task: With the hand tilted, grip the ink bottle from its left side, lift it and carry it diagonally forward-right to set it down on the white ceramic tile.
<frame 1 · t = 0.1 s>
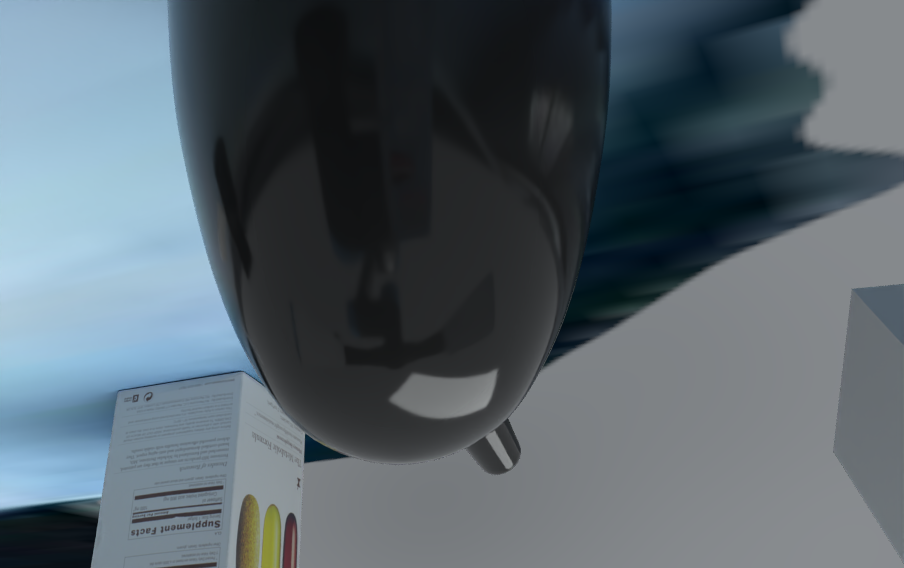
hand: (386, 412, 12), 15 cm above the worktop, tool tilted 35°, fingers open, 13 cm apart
supplement box: (216, 399, 56), on the worktop
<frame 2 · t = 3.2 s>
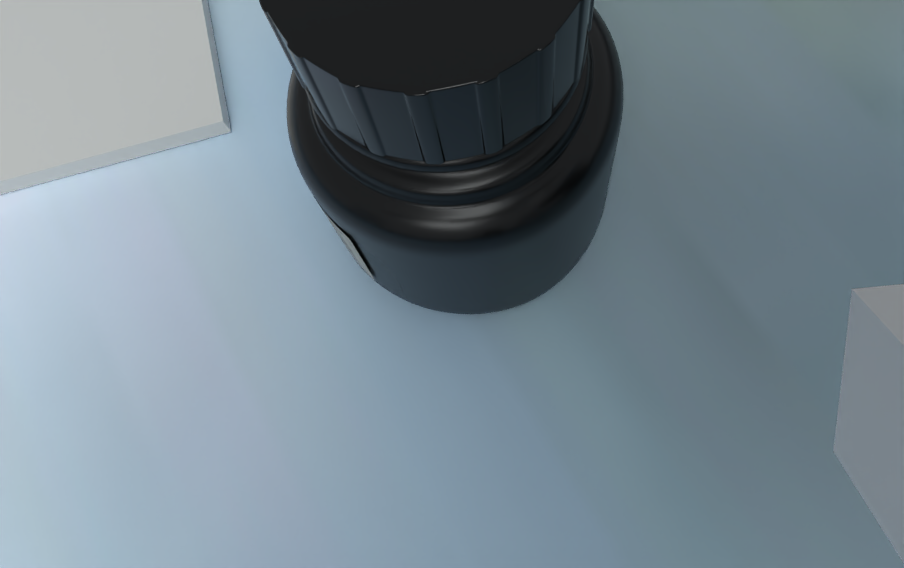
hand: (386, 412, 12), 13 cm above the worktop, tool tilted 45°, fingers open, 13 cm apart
ink bottle: (470, 192, 28), on the worktop
ceramic tile: (38, 28, 31), on the worktop
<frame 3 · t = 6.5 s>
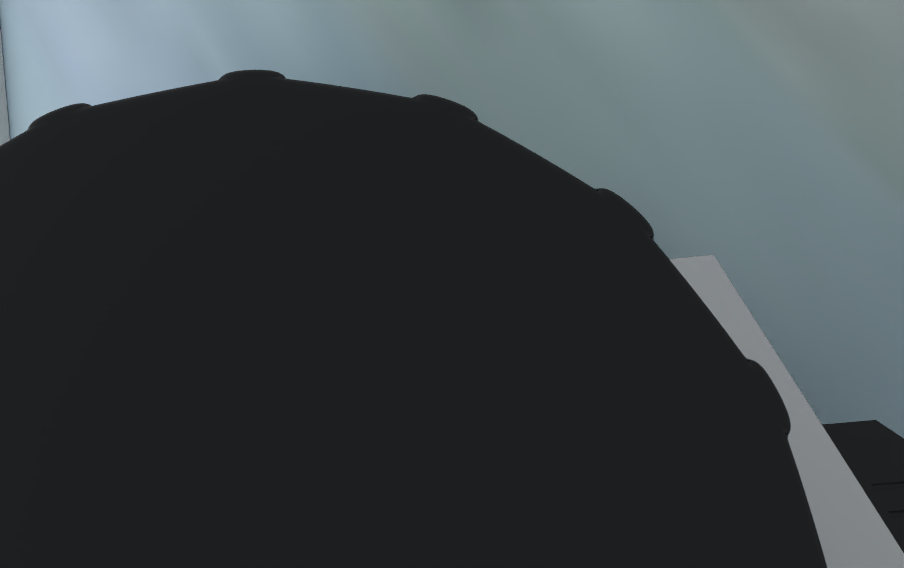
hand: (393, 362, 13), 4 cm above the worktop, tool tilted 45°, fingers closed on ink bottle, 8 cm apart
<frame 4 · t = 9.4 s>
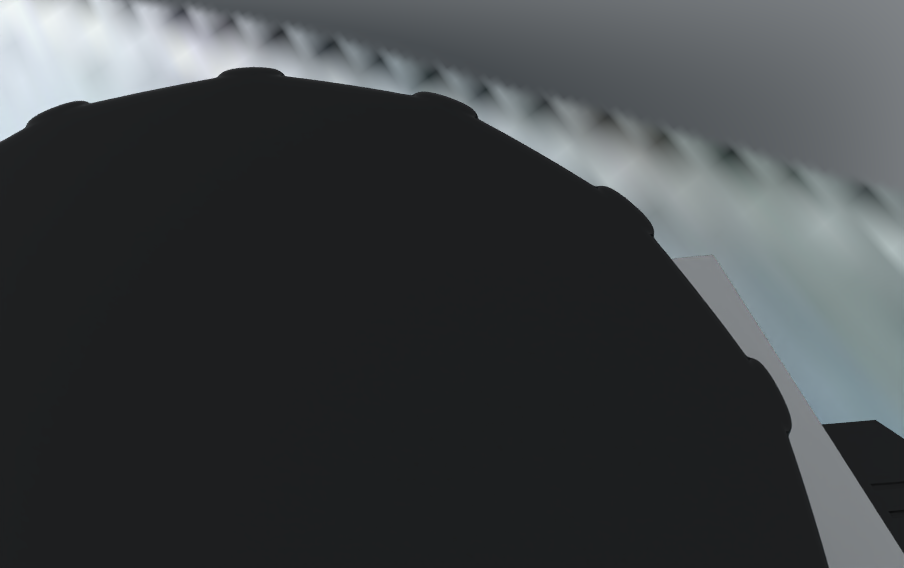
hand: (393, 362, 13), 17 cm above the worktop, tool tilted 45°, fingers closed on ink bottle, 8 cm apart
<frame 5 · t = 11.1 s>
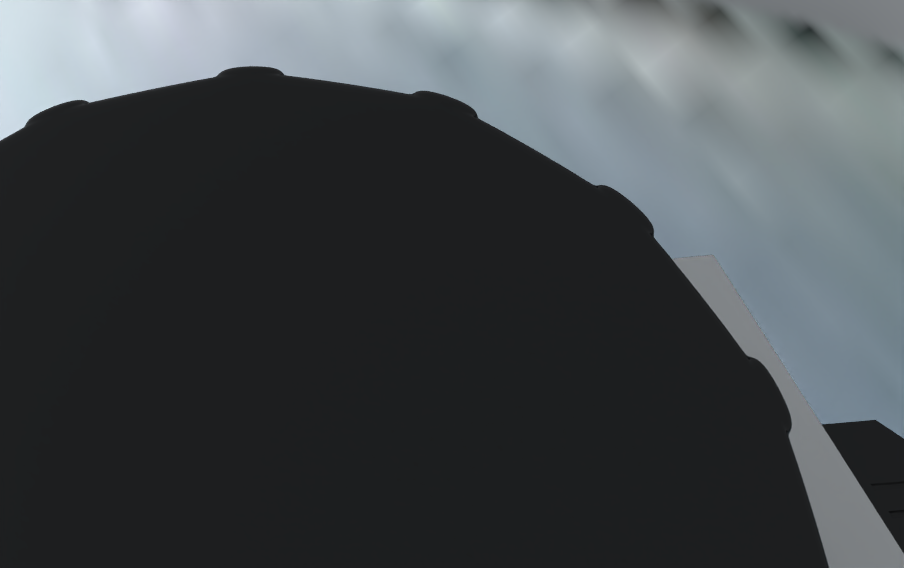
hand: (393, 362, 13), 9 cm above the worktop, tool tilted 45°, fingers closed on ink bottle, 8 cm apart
when the fingers open (6 cm above the worktop, at t = 12.3 s): ink bottle drops 1 cm, resting on ceramic tile.
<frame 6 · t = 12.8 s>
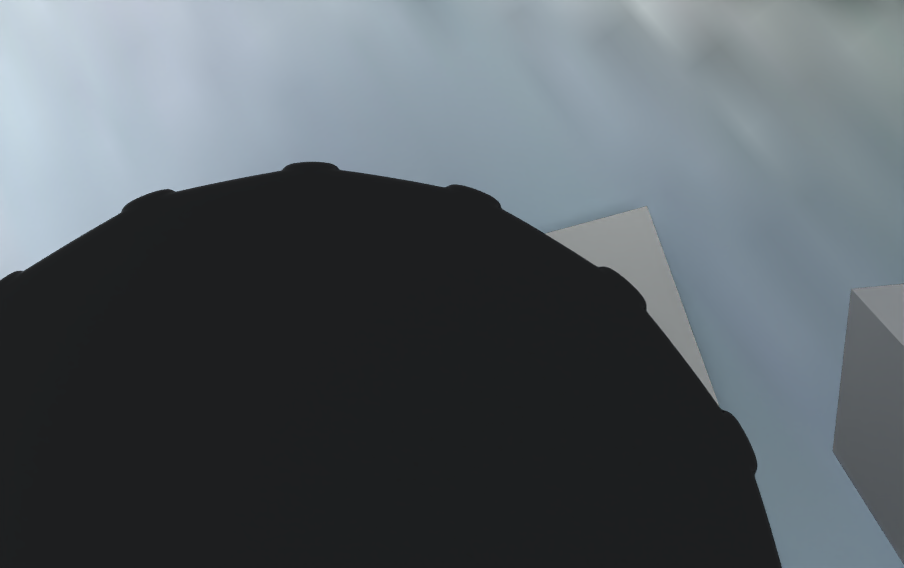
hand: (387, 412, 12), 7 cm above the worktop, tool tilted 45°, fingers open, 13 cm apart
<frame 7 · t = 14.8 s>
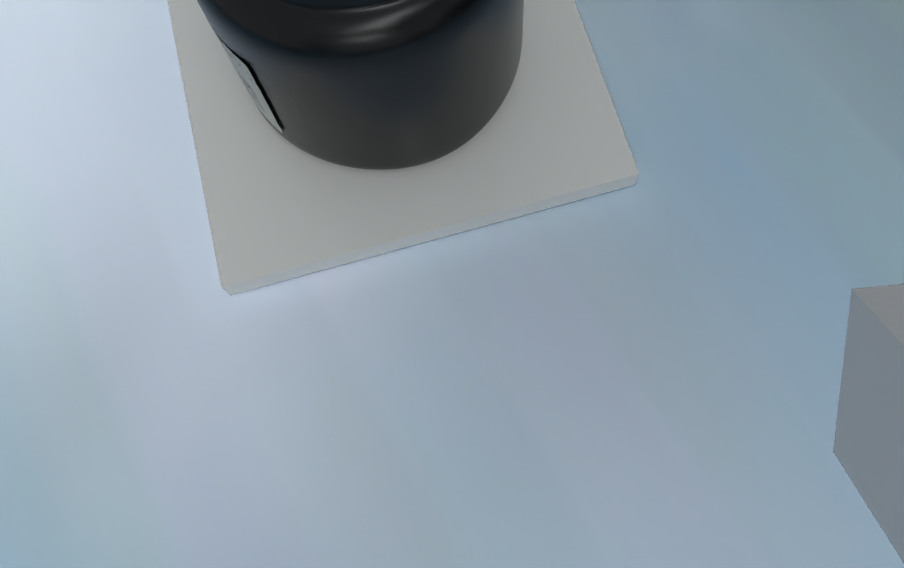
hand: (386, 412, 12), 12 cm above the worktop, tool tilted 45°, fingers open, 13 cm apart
ink bottle: (385, 56, 27), point 1 cm above the worktop, touching ceramic tile
ceramic tile: (384, 64, 28), on the worktop
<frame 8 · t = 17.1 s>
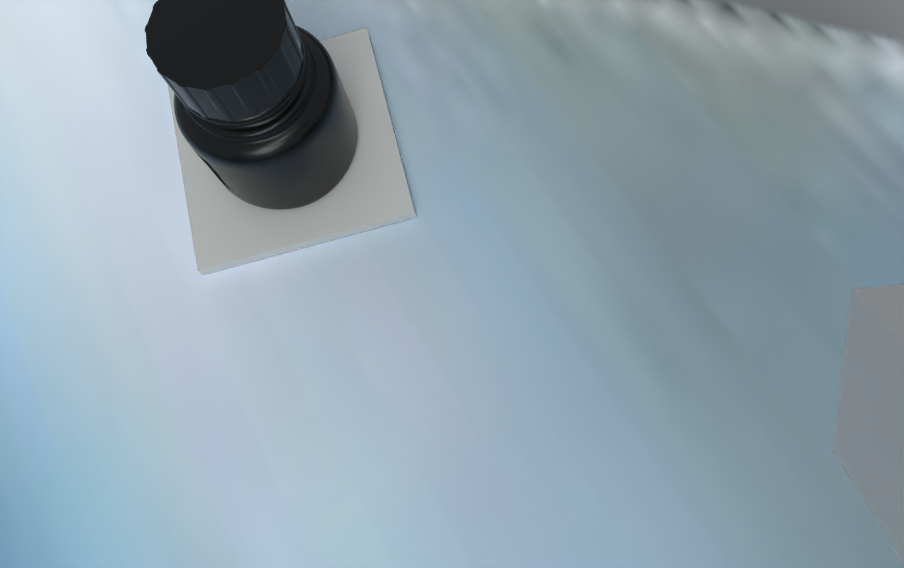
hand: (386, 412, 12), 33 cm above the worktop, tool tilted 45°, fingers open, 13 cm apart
ink bottle: (288, 147, 50), point 1 cm above the worktop, touching ceramic tile
ceramic tile: (289, 150, 51), on the worktop
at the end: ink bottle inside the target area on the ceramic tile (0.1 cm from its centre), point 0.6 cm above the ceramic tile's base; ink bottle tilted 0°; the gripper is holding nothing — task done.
